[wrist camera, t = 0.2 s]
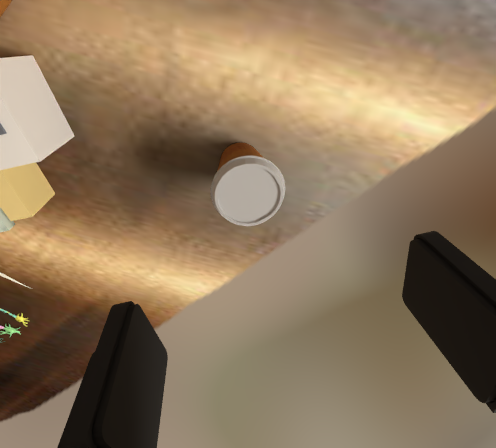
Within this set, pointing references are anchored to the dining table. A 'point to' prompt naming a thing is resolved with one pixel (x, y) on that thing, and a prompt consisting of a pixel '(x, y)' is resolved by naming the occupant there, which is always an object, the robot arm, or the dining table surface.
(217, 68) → the dining table surface
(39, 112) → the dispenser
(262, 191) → the disposable coffee cup
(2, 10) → the coffee package
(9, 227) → the tray
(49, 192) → the pale yellow paper bar
